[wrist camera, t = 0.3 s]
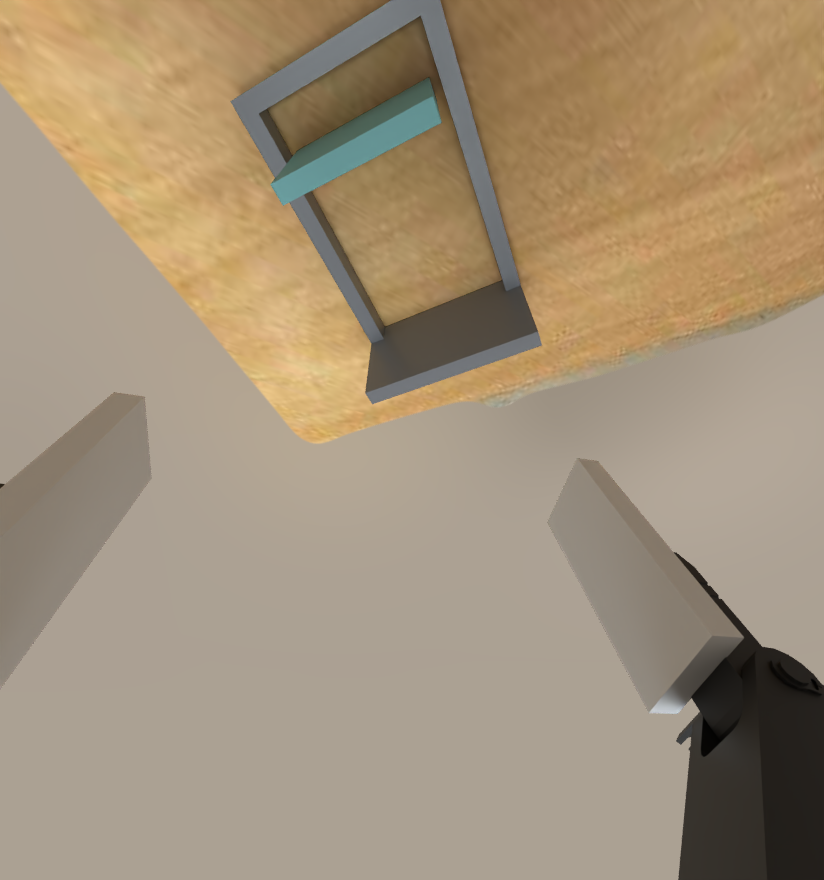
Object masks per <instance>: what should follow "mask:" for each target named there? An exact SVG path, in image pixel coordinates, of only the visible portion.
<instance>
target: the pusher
mask: <svg viewBox="0 0 824 880" xmlns="http://www.w3.org/2000/svg"><path fill="white" fill-rule="evenodd" d="M440 123H442V122H441V118H440V113H439V109H438V104H437V100H436V97H435V94H434V90H433V87H432V84H431V81H430V78H429V77H428V78H426V79H425V80H423V81H421V82H419V83H417V84H416V85H414V86H412V87H410V88H408V89H407V90H405V91H403V92H401V93H400V94H398V95H396V96H394V97H392V98H391V99H389V100H387V101H385V102H383V103H382V104H380V105H378V106H376V107H374V108H373V109H371V110H369V111H367V112H366V113H364V114H362V115H360V116H358V117H357V118H355V119H353V120H351V121H349V122H348V123H346V124H344V125H342V126H341V127H339V128H337V129H335V130H333V131H332V132H330V133H328V134H326V135H324V136H323V137H321V138H319V139H317V140H316V141H314V142H312V143H310V144H308V145H307V146H305V147H303V148H301V149H299V150H298V151H297V152H296V153H295V154H294V155H293V157H292V158H291V159H290V160H289V162H288V163H287V164H286V165H285V167H284V168H283V169H282V171H281V172H280V173H279V174H278V176H277V177H276V178H275V179H274V181H273V182H272V183H271V184H270V185H271V186H272V188H273V190H274V191H275V193H276V195H277V196H278V198H279V200H280V201H281V203H282V205H285V204H287V203H289V202H291V201H293V200H295V199H297V198H299V197H300V196H302V195H304V194H306V193H308V192H310V191H312V190H314V189H316V188H318V187H320V186H321V185H323V184H325V183H327V182H329V181H331V180H333V179H335V178H337V177H339V176H341V175H343V174H344V173H346V172H348V171H350V170H352V169H354V168H356V167H358V166H360V165H362V164H364V163H365V162H367V161H369V160H371V159H373V158H375V157H377V156H379V155H381V154H383V153H385V152H386V151H388V150H390V149H392V148H394V147H396V146H398V145H400V144H402V143H404V142H406V141H407V140H409V139H411V138H413V137H415V136H417V135H419V134H421V133H423V132H425V131H427V130H428V129H430V128H432V127H434V126H436V125H438V124H440Z"/></svg>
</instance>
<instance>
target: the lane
mask: <svg viewBox="0 0 824 880" xmlns="http://www.w3.org/2000/svg"><path fill="white" fill-rule="evenodd" d="M419 16H421V18H422V22H423V25H424V28H425V31H426V35H427V38H428V41H429V44H430V47H431V51H432V54H433V57H434V60H435V64H436V67H437V70H438V73H439V77H440V80H441V83H442V86H443V89H444V93H445V96H446V99H447V102H448V106H449V109H450V112H451V115H452V119H453V122H454V125H455V128H456V131H457V135H458V138H459V141H460V144H461V148H462V151H463V154H464V157H465V161H466V164H467V167H468V170H469V173H470V177H471V180H472V183H473V186H474V190H475V193H476V196H477V199H478V202H479V206H480V209H481V212H482V215H483V219H484V222H485V225H486V228H487V232H488V235H489V238H490V241H491V244H492V248H493V251H494V254H495V257H496V261H497V264H498V267H499V270H500V274H501V277H502V281H499V282H497V283H494V284H492V285H489V286H487V287H484V288H482V289H479V290H477V291H474V292H472V293H469V294H467V295H464V296H462V297H459V298H457V299H454V300H452V301H449V302H447V303H444V304H442V305H439V306H437V307H434V308H432V309H429V310H427V311H424V312H422V313H419V314H417V315H414V316H412V317H409V318H407V319H404V320H402V321H399V322H397V323H394V324H392V325H389V326H387V327H385V326H384V325H383V323H382V321H381V319H380V317H379V315H378V314H377V312H376V310H375V308H374V306H373V304H372V303H371V301H370V299H369V297H368V295H367V293H366V291H365V290H364V288H363V286H362V284H361V282H360V280H359V279H358V277H357V275H356V273H355V271H354V269H353V267H352V266H351V264H350V262H349V260H348V258H347V256H346V255H345V253H344V251H343V249H342V247H341V245H340V243H339V242H338V240H337V238H336V236H335V234H334V232H333V231H332V229H331V227H330V225H329V223H328V221H327V219H326V218H325V216H324V214H323V212H322V210H321V208H320V207H319V205H318V203H317V201H316V199H315V197H314V195H313V194H312V192H311V191H310V192H308V193H306V194H304V195H302V196H300V197H299V198H297V199H295V200H293V201H291V202H289V203H290V204H291V206H292V208H293V210H294V211H295V213H296V215H297V216H298V218H299V220H300V222H301V223H302V225H303V227H304V228H305V230H306V232H307V234H308V235H309V237H310V239H311V240H312V242H313V244H314V246H315V247H316V249H317V251H318V253H319V254H320V256H321V258H322V259H323V261H324V263H325V265H326V266H327V268H328V270H329V271H330V273H331V275H332V277H333V278H334V280H335V282H336V283H337V285H338V287H339V289H340V290H341V292H342V294H343V295H344V297H345V299H346V301H347V302H348V304H349V306H350V307H351V309H352V311H353V313H354V314H355V316H356V318H357V320H358V321H359V323H360V325H361V326H362V328H363V330H364V332H365V333H366V335H367V337H368V338H369V340H370V342H371V344H372V345H371V353H370V360H369V368H368V376H367V384H366V392H365V393H366V395H367V396H368V398H369V400H370V401H371V403H372V404H374V403H377V402H380V401H383V400H386V399H389V398H392V397H395V396H397V395H400V394H403V393H406V392H409V391H412V390H415V389H418V388H420V387H423V386H426V385H429V384H432V383H435V382H438V381H441V380H444V379H446V378H449V377H452V376H455V375H458V374H461V373H464V372H467V371H469V370H472V369H475V368H478V367H481V366H484V365H487V364H490V363H493V362H495V361H498V360H501V359H504V358H507V357H510V356H513V355H516V354H518V353H521V352H524V351H527V350H530V349H533V348H536V347H539V346H542V344H541V341H540V337H539V333H538V330H537V327H536V325H535V322H534V319H533V317H532V314H531V312H530V309H529V306H528V304H527V301H526V298H525V296H524V293H523V290H522V288H521V285H520V281H519V278H518V274H517V271H516V267H515V264H514V260H513V256H512V253H511V249H510V246H509V242H508V239H507V235H506V232H505V228H504V225H503V221H502V218H501V214H500V210H499V207H498V203H497V200H496V196H495V193H494V189H493V186H492V182H491V179H490V175H489V172H488V168H487V164H486V161H485V157H484V154H483V150H482V147H481V143H480V140H479V136H478V133H477V129H476V126H475V122H474V118H473V115H472V111H471V108H470V104H469V101H468V97H467V94H466V90H465V87H464V83H463V80H462V76H461V72H460V69H459V65H458V62H457V58H456V55H455V51H454V48H453V44H452V41H451V37H450V34H449V30H448V26H447V23H446V19H445V16H444V12H443V9H442V5H441V2H440V0H391V1H389V2H388V3H386V4H385V5H383V6H381V7H380V8H378V9H377V10H375V11H373V12H372V13H370V14H369V15H367V16H366V17H364V18H362V19H361V20H359V21H358V22H356V23H354V24H353V25H351V26H350V27H348V28H346V29H345V30H343V31H342V32H340V33H339V34H337V35H335V36H334V37H332V38H331V39H329V40H327V41H326V42H324V43H323V44H321V45H319V46H318V47H316V48H315V49H313V50H311V51H310V52H308V53H307V54H305V55H304V56H302V57H300V58H299V59H297V60H296V61H294V62H292V63H291V64H289V65H288V66H286V67H284V68H283V69H281V70H280V71H278V72H277V73H275V74H273V75H272V76H270V77H269V78H267V79H265V80H264V81H262V82H261V83H259V84H257V85H256V86H254V87H253V88H251V89H249V90H248V91H246V92H245V93H243V94H242V95H240V96H238V97H237V98H235V99H234V100H232V101H231V103H232V105H233V107H234V108H235V110H236V112H237V113H238V115H239V117H240V119H241V120H242V122H243V124H244V125H245V127H246V129H247V131H248V132H249V134H250V136H251V137H252V139H253V141H254V143H255V144H256V146H257V148H258V149H259V151H260V153H261V155H262V156H263V158H264V160H265V161H266V163H267V165H268V167H269V168H270V170H271V172H272V174H273V175H274V177H275V178H276V177H277V176H278V174H279V173H280V172H281V171H282V169H283V168H284V167H285V165H286V164H287V163H288V162H289V160H290V159H291V158H292V155H291V153H290V151H289V149H288V148H287V146H286V144H285V142H284V140H283V138H282V136H281V135H280V133H279V131H278V129H277V127H276V125H275V124H274V122H273V120H272V118H271V116H270V114H269V112H268V111H267V108H269V107H270V106H272V105H274V104H275V103H277V102H279V101H280V100H282V99H284V98H285V97H287V96H289V95H290V94H292V93H294V92H295V91H297V90H299V89H300V88H302V87H304V86H305V85H307V84H308V83H310V82H312V81H313V80H315V79H317V78H318V77H320V76H322V75H323V74H325V73H327V72H328V71H330V70H332V69H333V68H335V67H337V66H338V65H340V64H341V63H343V62H345V61H346V60H348V59H350V58H351V57H353V56H355V55H356V54H358V53H360V52H361V51H363V50H365V49H366V48H368V47H370V46H371V45H373V44H375V43H376V42H378V41H379V40H381V39H383V38H384V37H386V36H388V35H389V34H391V33H393V32H394V31H396V30H398V29H399V28H401V27H403V26H404V25H406V24H408V23H409V22H411V21H413V20H414V19H416V18H417V17H419Z"/></svg>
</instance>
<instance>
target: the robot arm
mask: <svg viewBox="0 0 824 880" xmlns="http://www.w3.org/2000/svg"><path fill="white" fill-rule="evenodd" d="M150 480H151V466H150V455H149V443H148V431H147V419H146V408H145V397H143V396H136V395H129V394H122V393H115V392H114V393H113V394H111V395H110V396H109V397H108V398H107V399H106V400H104V401H103V402H102V403H101V404H100V405H99V406H97V407H96V408H95V409H94V410H93V411H91V412H90V413H89V414H88V415H87V416H85V417H84V418H83V419H82V420H81V421H80V422H78V423H77V424H76V425H75V426H74V427H72V428H71V429H70V430H69V431H68V432H67V433H65V434H64V435H63V436H62V437H61V438H59V439H58V440H57V441H56V442H55V443H54V444H52V445H51V446H50V447H49V448H48V449H47V450H45V451H44V452H43V453H42V454H41V455H39V456H38V457H37V458H36V459H35V460H33V461H32V462H31V463H30V464H29V465H27V466H26V467H25V468H24V469H23V470H22V471H20V472H19V473H18V474H17V475H16V476H14V477H13V478H12V479H11V480H10V481H9V482H7V483H6V484H0V689H1V687H2V686H3V684H4V683H5V682H6V681H7V679H8V678H9V676H10V675H11V674H12V672H13V671H14V669H15V668H16V667H17V665H18V664H19V663H20V661H21V660H22V658H23V656H24V655H25V654H26V653H27V651H28V650H29V648H30V647H31V646H32V644H33V643H34V641H35V640H36V639H37V637H38V636H39V635H40V633H41V632H42V630H43V629H44V627H45V626H46V625H47V623H48V622H49V621H50V619H51V618H52V616H53V615H54V614H55V612H56V611H57V609H58V608H59V607H60V605H61V604H62V602H63V601H64V600H65V598H66V597H67V595H68V594H69V593H70V591H71V590H72V589H73V587H74V586H75V584H76V583H77V582H78V580H79V578H80V577H81V576H82V575H83V573H84V572H85V570H86V569H87V567H88V566H89V565H90V563H91V562H92V561H93V559H94V558H95V556H96V555H97V554H98V552H99V551H100V549H101V548H102V547H103V545H104V544H105V542H106V541H107V540H108V538H109V537H110V535H111V534H112V533H113V531H114V530H115V528H116V527H117V526H118V524H119V523H120V522H121V520H122V519H123V517H124V516H125V515H126V513H127V512H128V510H129V509H130V508H131V506H132V505H133V503H134V502H135V501H136V499H137V498H138V496H139V495H140V493H141V492H142V491H143V489H144V488H145V487H146V485H147V484H148V482H149V481H150ZM547 523H548V525H549V527H550V528H551V530H552V532H553V534H554V536H555V538H556V540H557V542H558V543H559V545H560V547H561V549H562V551H563V553H564V554H565V557H566V558H567V560H568V562H569V564H570V566H571V568H572V570H573V572H574V573H575V575H576V577H577V579H578V581H579V583H580V585H581V587H582V588H583V590H584V592H585V594H586V596H587V598H588V600H589V602H590V603H591V605H592V607H593V609H594V611H595V613H596V615H597V617H598V618H599V620H600V622H601V624H602V626H603V628H604V630H605V632H606V633H607V635H608V637H609V639H610V641H611V643H612V645H613V647H614V649H615V650H616V652H617V654H618V656H619V658H620V660H621V662H622V664H623V665H624V667H625V669H626V671H627V673H628V675H629V677H630V679H631V680H632V682H633V684H634V686H635V688H636V690H637V692H638V693H639V695H640V697H641V699H642V701H643V703H644V705H645V707H646V709H647V710H648V712H649V713H671V714H678V713H679V711H680V710H681V709H682V708H683V707H684V706H685V705H686V704H687V702H688V701H689V700H690V699H691V698H692V699H693V701H694V702H695V704H696V706H697V707H698V709H699V710H700V712H699V713H698V715H697V716H696V717H695V718H694V719H693V720H692V721H691V722H690V723H689V724H688V726H687V727H686V728H685V729H684V730H683V731H682V732H681V733H680V734H679V736H678V738H677V740H676V741H677V742H678V743H679V744H682V743H683V742H684V741H685V740H686V739H687V738H688V737H691V747H690V748H689V750H690V758H689V770H688V781H687V792H686V803H685V813H684V824H683V835H682V846H681V857H680V868H679V879H678V880H824V685H822V684H821V683H820V682H819V681H818V679H817V678H816V677H815V676H814V674H813V673H811V672H810V671H809V670H808V669H807V668H806V667H805V666H803V665H802V664H801V663H799V662H798V661H797V660H795V659H794V658H792V657H790V656H789V655H787V654H785V653H783V652H781V651H778V650H776V649H772V648H766V647H762V646H761V645H760V644H759V643H758V641H757V640H756V639H755V638H754V637H753V635H752V634H751V633H750V632H749V631H748V630H747V628H746V627H745V626H744V625H743V624H742V623H741V621H740V620H739V619H738V618H737V617H736V616H735V614H734V613H733V612H732V611H731V610H730V609H729V607H728V606H727V605H726V604H725V603H724V601H723V600H722V599H719V598H718V594H717V593H716V592H715V591H714V590H713V589H712V587H711V586H708V585H707V581H706V580H705V579H704V578H703V577H702V576H701V574H700V573H699V572H698V571H697V570H696V569H695V567H693V566H692V565H691V564H690V563H689V562H687V561H686V560H685V559H684V558H682V557H681V556H680V555H679V554H677V553H675V552H673V551H672V550H671V549H670V548H669V546H668V545H667V544H666V543H665V542H664V540H663V539H662V538H661V537H660V536H659V534H658V533H657V532H656V531H655V530H654V528H653V527H652V526H651V525H650V524H649V522H648V521H647V520H646V519H645V517H644V516H643V515H642V514H641V513H640V511H639V510H638V509H637V508H636V507H635V506H634V504H633V503H632V502H631V501H630V499H629V498H628V497H627V496H626V495H625V493H624V492H623V491H622V490H621V488H620V487H619V486H618V485H617V484H616V483H615V481H614V480H613V479H612V478H611V477H610V475H609V474H608V473H607V472H606V471H605V469H604V468H603V467H602V466H601V465H600V463H599V462H598V461H594V460H587V459H579V458H577V459H576V461H575V463H574V466H573V468H572V470H571V472H570V474H569V476H568V478H567V481H566V483H565V485H564V487H563V489H562V491H561V494H560V496H559V498H558V500H557V502H556V505H555V507H554V509H553V511H552V513H551V515H550V518H549V520H548V522H547Z"/></svg>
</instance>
